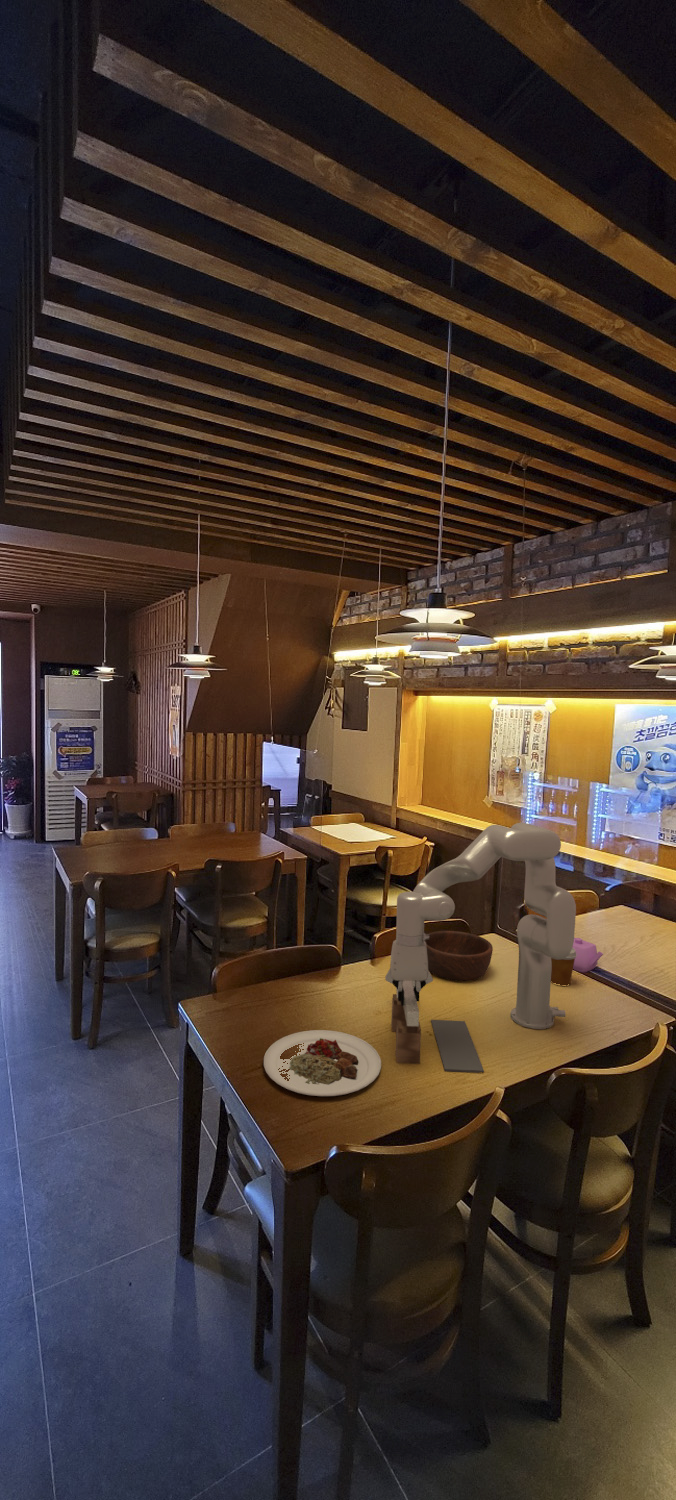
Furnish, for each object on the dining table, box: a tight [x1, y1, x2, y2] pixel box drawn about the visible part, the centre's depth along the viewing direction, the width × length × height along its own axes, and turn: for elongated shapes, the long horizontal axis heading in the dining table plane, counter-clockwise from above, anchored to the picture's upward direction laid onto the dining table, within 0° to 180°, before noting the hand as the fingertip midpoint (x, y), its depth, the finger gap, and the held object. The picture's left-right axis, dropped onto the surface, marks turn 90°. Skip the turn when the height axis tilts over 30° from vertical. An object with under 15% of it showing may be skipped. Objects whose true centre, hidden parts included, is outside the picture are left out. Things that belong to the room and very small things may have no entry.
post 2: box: [395, 1021, 422, 1065], centre depth 165 cm, size 6×4×9 cm, turn 89°
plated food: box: [263, 1029, 382, 1097], centre depth 161 cm, size 30×30×3 cm
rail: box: [403, 980, 420, 1026], centre depth 173 cm, size 3×22×4 cm, turn 179°
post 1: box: [390, 993, 407, 1033], centre depth 181 cm, size 6×4×9 cm, turn 89°
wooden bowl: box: [425, 930, 494, 982], centre depth 225 cm, size 25×25×10 cm
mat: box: [430, 1019, 485, 1074], centre depth 173 cm, size 10×26×1 cm, turn 179°
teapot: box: [572, 937, 604, 974], centre depth 233 cm, size 18×10×10 cm, turn 38°
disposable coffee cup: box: [551, 948, 577, 985], centre depth 218 cm, size 10×10×12 cm
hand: (408, 1002), depth 173 cm, fingers closed on rail, 3 cm apart
